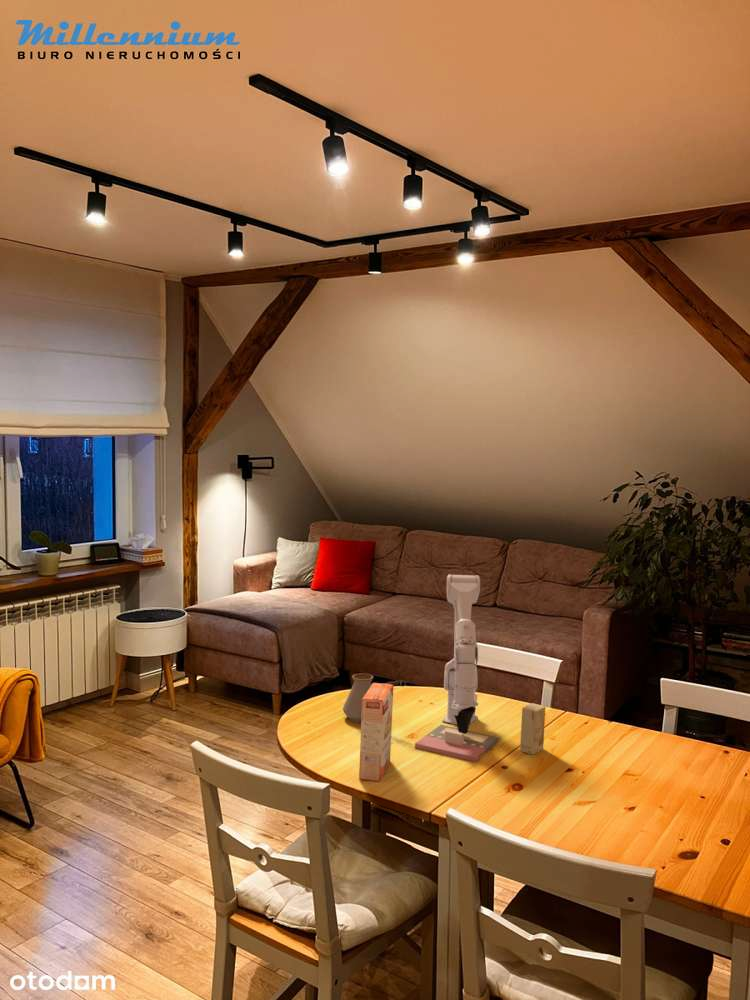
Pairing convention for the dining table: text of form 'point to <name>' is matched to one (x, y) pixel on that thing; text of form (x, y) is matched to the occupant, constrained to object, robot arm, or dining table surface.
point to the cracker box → (376, 731)
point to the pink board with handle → (451, 746)
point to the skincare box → (532, 728)
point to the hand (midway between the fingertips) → (463, 732)
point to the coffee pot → (359, 695)
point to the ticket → (468, 737)
